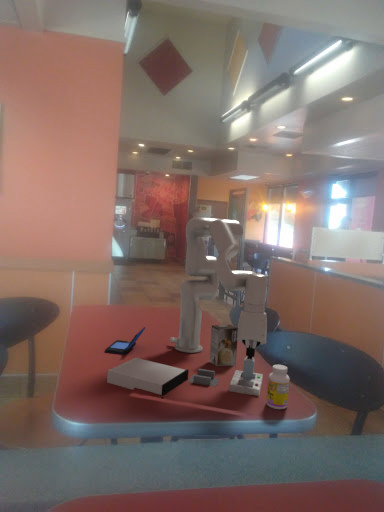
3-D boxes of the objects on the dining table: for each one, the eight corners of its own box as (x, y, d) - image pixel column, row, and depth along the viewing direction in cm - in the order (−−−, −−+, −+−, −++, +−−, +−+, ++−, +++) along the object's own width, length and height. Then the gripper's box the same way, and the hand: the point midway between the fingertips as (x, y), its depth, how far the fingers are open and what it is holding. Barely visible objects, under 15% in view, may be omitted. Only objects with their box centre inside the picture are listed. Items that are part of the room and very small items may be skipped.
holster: (187, 384, 147) (188, 374, 146) (192, 376, 154) (193, 367, 154) (215, 389, 144) (216, 379, 144) (219, 381, 152) (220, 371, 152)
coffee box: (227, 361, 175) (230, 324, 174) (235, 366, 169) (239, 327, 168) (208, 363, 171) (211, 325, 169) (216, 368, 165) (219, 329, 164)
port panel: (228, 393, 141) (229, 384, 141) (235, 377, 157) (236, 368, 156) (258, 398, 139) (259, 388, 139) (262, 382, 154) (262, 373, 154)
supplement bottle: (263, 400, 138) (267, 362, 137) (283, 401, 138) (286, 363, 137) (269, 409, 131) (272, 370, 130) (289, 410, 132) (293, 370, 131)
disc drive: (163, 400, 133) (164, 385, 133) (106, 384, 143) (107, 369, 143) (187, 383, 149) (188, 369, 149) (135, 369, 159) (136, 356, 159)
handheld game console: (116, 343, 191) (117, 323, 190) (144, 346, 189) (146, 326, 188) (104, 352, 175) (105, 331, 175) (134, 356, 173) (136, 334, 173)
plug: (241, 384, 150) (244, 358, 150) (242, 381, 154) (245, 355, 153) (252, 386, 150) (254, 360, 149) (252, 382, 153) (254, 357, 152)
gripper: (231, 307, 148) (227, 358, 149) (274, 312, 144) (270, 364, 145) (234, 304, 155) (231, 352, 156) (275, 308, 151) (271, 358, 153)
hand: (250, 358), depth 151 cm, fingers closed
